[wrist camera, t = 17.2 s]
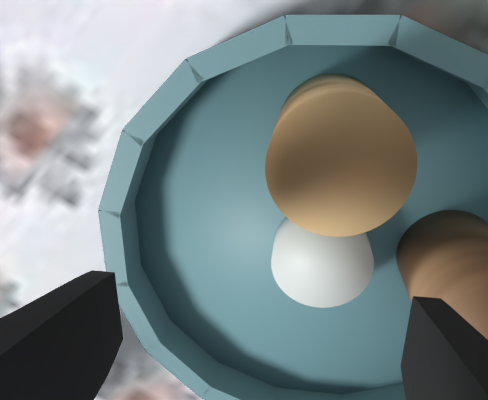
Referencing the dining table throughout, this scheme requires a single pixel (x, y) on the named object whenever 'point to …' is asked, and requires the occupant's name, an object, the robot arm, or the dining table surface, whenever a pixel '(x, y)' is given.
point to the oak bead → (339, 157)
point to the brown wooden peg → (448, 263)
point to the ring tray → (273, 220)
